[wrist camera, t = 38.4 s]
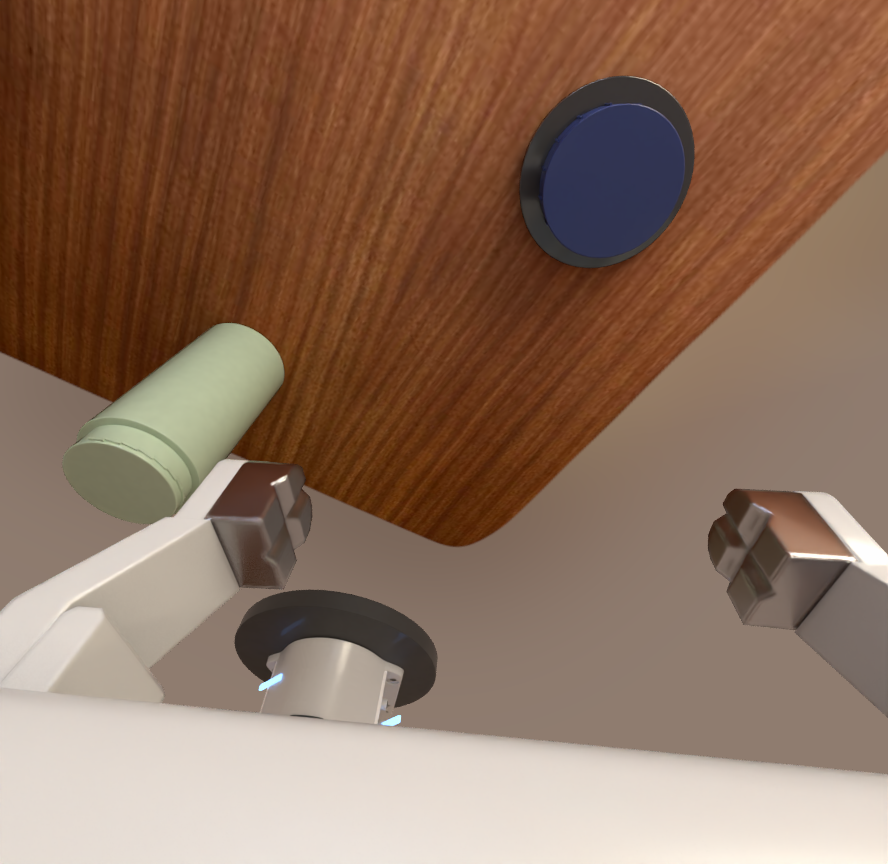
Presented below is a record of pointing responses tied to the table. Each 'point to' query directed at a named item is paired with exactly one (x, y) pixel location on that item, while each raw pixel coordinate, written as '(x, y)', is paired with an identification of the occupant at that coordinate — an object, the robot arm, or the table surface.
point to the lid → (612, 179)
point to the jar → (174, 425)
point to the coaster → (560, 119)
